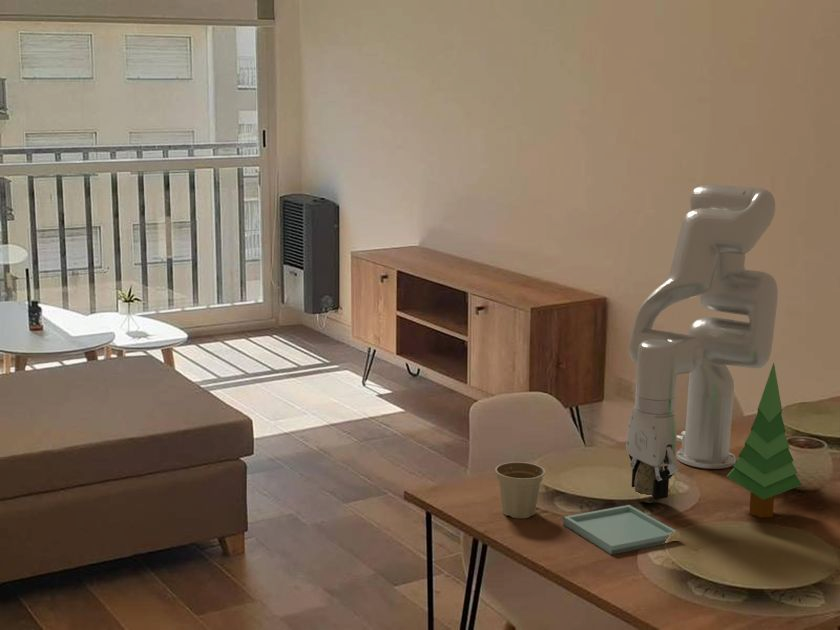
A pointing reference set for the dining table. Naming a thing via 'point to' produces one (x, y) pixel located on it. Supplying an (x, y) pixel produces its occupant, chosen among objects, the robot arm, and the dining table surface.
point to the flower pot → (519, 488)
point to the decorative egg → (645, 480)
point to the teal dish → (619, 529)
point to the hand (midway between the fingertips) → (649, 491)
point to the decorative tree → (766, 455)
